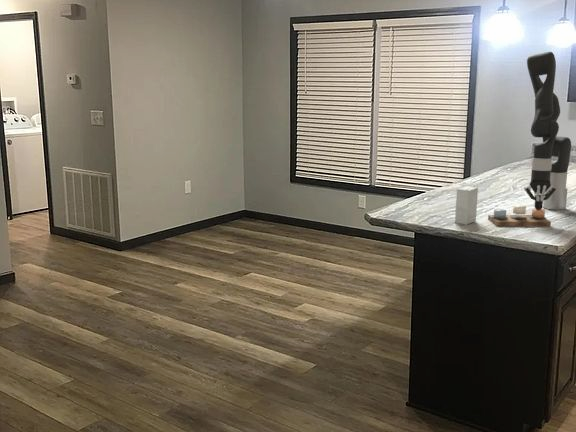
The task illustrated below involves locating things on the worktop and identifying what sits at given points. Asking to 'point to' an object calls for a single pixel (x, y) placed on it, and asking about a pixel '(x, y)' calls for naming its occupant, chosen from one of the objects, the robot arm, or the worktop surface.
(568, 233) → the worktop surface
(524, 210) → the button cream
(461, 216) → the skincare box
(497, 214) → the button slate
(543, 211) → the button terracotta
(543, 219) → the board
